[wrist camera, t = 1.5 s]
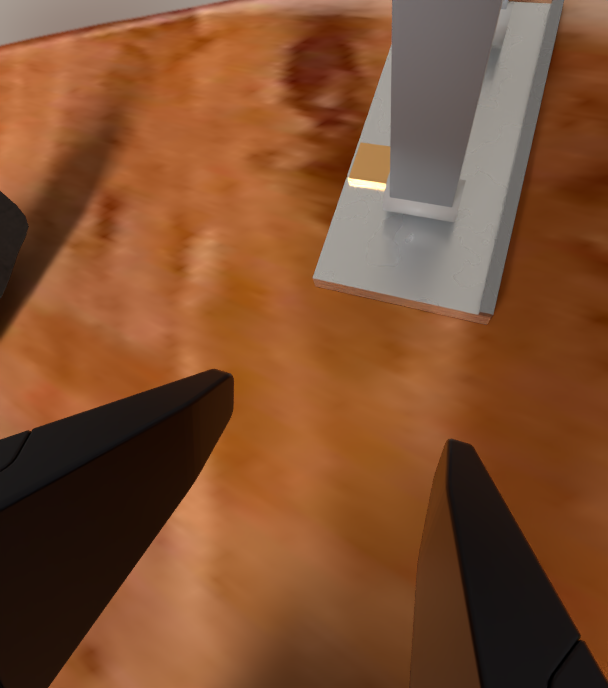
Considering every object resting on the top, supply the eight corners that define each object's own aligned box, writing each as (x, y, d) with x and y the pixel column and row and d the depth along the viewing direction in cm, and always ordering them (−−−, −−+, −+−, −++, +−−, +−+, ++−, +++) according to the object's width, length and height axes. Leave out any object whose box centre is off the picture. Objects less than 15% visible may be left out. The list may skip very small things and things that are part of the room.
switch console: (486, 324, 22) (493, 314, 21) (315, 286, 24) (311, 274, 23) (555, 21, 27) (564, -3, 25) (407, 12, 29) (407, -11, 28)
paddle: (452, 230, 22) (537, -90, 10) (382, 218, 23) (379, -91, 11) (461, 197, 23) (553, -150, 10) (392, 185, 24) (400, -146, 11)
